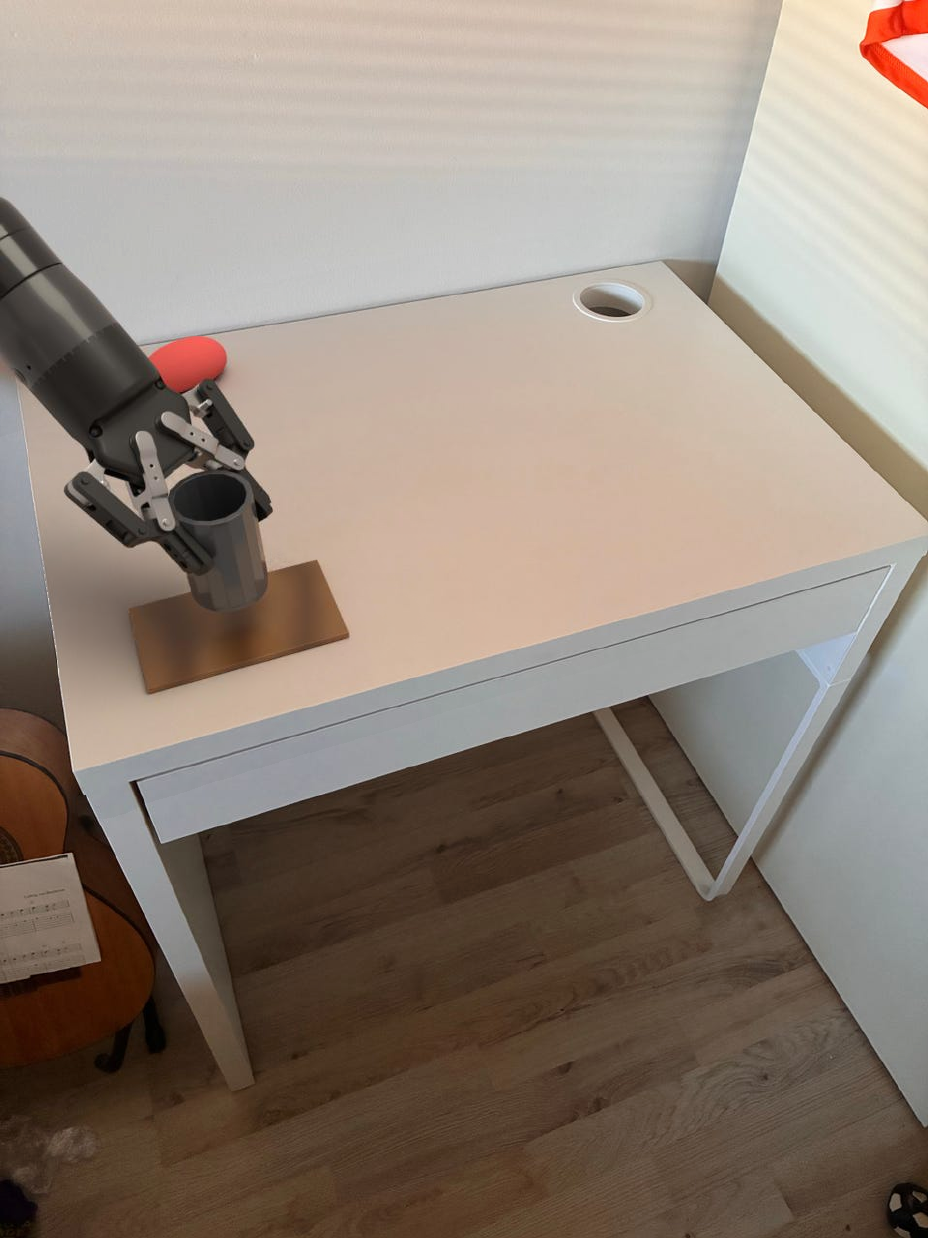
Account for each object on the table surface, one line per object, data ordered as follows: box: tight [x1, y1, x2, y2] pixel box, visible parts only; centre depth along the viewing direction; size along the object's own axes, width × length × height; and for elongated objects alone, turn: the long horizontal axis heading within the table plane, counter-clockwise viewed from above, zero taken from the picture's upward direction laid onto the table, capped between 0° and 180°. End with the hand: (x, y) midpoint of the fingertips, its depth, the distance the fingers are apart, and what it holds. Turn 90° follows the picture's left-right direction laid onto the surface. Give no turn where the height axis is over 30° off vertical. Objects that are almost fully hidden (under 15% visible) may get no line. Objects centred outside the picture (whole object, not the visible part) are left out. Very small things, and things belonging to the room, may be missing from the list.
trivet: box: [127, 559, 350, 695], centre depth 77 cm, size 16×9×1 cm, turn 112°
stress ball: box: [148, 335, 228, 394], centre depth 98 cm, size 5×9×6 cm, turn 118°
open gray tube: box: [168, 470, 269, 612], centre depth 71 cm, size 6×6×9 cm
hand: (236, 542), depth 70 cm, fingers closed on open gray tube, 6 cm apart
